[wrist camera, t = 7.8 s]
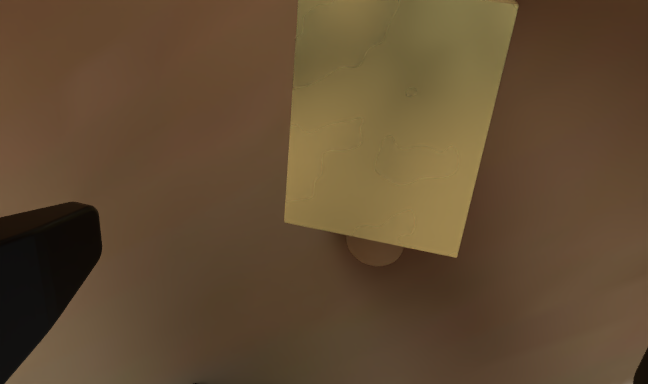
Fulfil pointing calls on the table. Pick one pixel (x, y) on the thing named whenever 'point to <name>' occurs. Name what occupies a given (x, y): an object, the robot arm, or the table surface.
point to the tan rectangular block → (393, 115)
